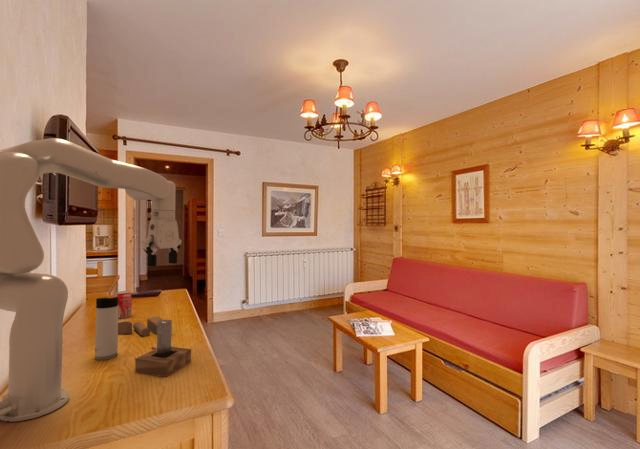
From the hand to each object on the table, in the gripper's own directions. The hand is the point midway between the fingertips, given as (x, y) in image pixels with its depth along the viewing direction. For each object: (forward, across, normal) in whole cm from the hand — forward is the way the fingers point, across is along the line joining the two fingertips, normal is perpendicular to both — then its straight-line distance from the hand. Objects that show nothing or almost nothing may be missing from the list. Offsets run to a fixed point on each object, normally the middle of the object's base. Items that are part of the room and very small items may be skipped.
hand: (162, 264), depth 111 cm
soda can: (+31, +29, +50) cm, 65 cm away
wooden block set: (+31, +12, +20) cm, 39 cm away
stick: (+30, 0, 0) cm, 30 cm away
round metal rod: (+30, -10, -10) cm, 33 cm away
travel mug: (+30, -10, +14) cm, 35 cm away
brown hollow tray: (+30, -10, -10) cm, 33 cm away
